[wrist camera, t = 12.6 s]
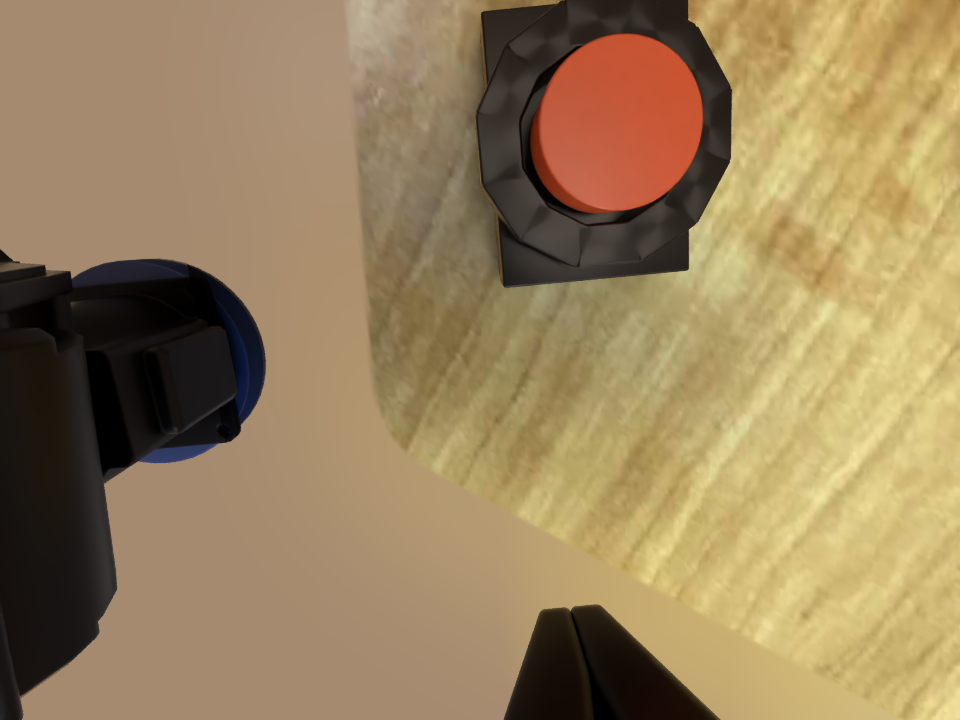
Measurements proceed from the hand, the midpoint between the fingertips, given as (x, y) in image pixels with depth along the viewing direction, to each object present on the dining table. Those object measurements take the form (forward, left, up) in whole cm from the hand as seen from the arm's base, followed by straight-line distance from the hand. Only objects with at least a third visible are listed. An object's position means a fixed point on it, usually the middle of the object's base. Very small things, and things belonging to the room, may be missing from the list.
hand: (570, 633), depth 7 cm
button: (+3, +8, -9) cm, 13 cm away
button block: (+3, +8, -13) cm, 15 cm away
